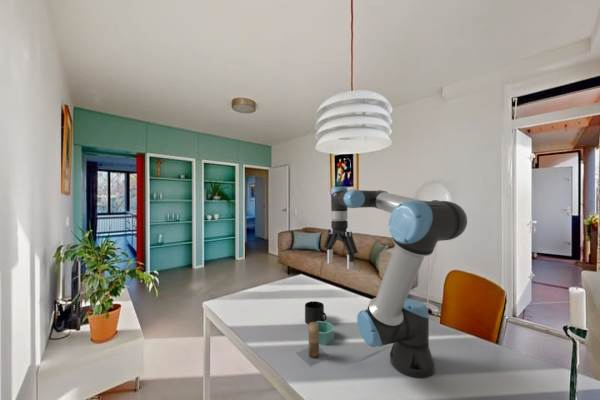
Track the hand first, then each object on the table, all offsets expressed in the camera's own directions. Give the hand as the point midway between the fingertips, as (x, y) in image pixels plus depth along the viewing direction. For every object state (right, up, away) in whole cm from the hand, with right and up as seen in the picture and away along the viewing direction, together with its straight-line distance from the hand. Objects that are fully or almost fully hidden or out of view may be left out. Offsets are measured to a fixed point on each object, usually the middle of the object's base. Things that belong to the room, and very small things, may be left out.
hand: (339, 265), depth 118 cm
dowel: (-13, -30, -19) cm, 38 cm away
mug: (-10, -31, +8) cm, 34 cm away
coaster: (-13, -31, -19) cm, 38 cm away
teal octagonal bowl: (-9, -31, -6) cm, 33 cm away
